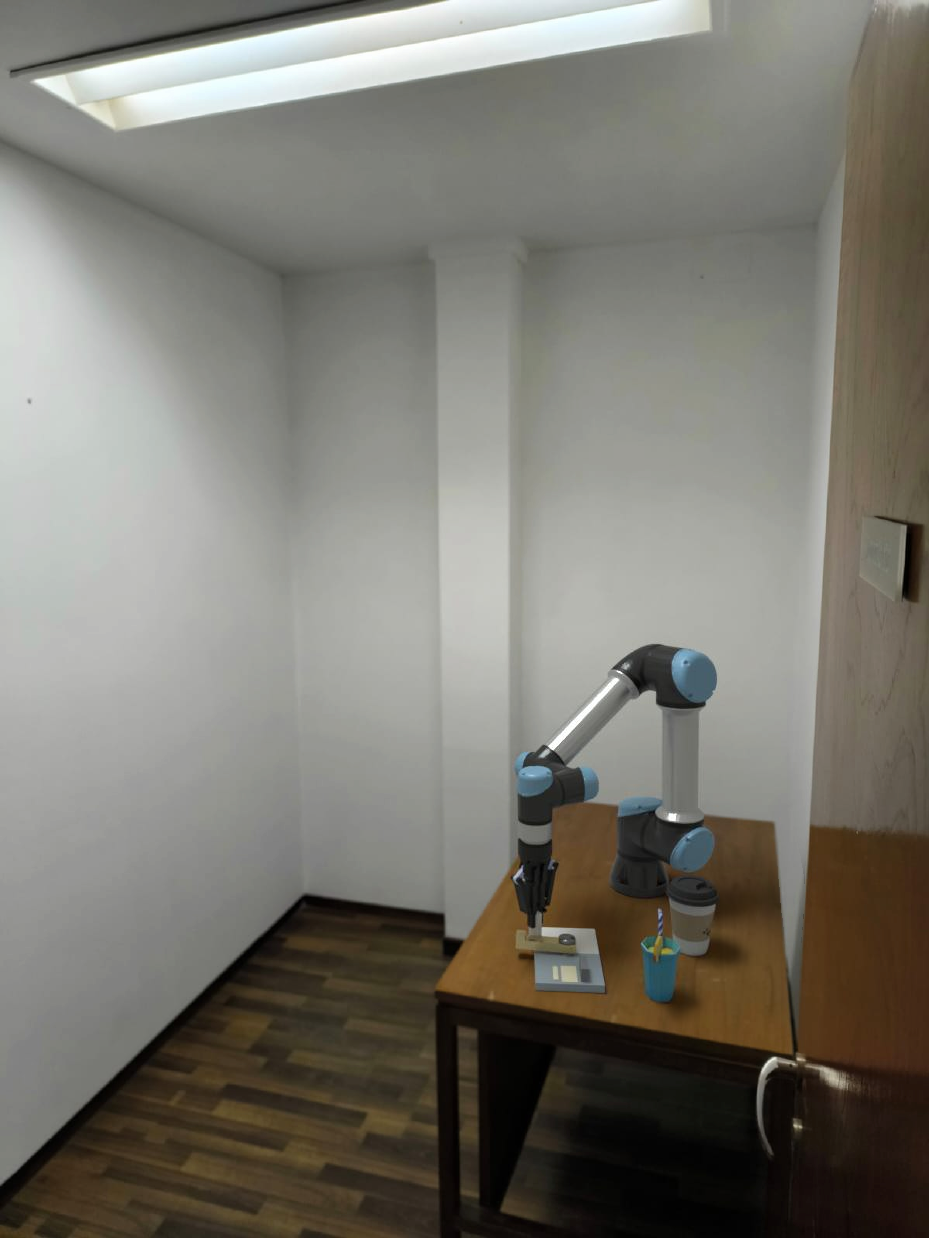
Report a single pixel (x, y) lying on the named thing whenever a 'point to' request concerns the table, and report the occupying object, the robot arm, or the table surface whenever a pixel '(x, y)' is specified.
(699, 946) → the coffee cup
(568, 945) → the latch bar
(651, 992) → the cup
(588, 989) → the door fixture
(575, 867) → the table surface
